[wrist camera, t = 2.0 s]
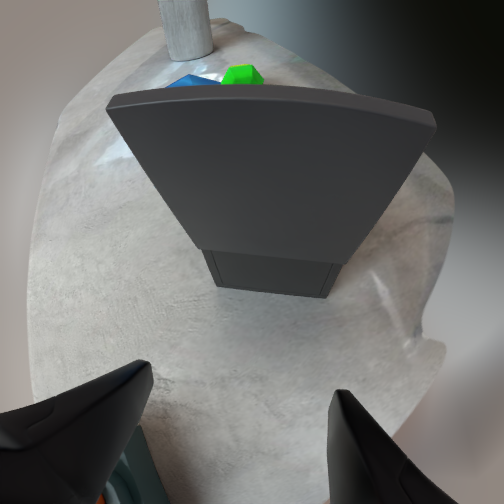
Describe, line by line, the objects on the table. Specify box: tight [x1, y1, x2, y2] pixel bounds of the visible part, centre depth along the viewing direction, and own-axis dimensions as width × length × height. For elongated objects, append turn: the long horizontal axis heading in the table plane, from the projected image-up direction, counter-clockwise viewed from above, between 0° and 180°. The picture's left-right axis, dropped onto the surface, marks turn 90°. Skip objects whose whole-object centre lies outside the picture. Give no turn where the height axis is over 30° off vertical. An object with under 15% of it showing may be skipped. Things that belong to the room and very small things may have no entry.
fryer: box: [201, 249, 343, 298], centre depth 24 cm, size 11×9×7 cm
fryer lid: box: [106, 84, 437, 264], centre depth 12 cm, size 12×9×1 cm
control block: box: [102, 425, 170, 504], centre depth 13 cm, size 10×8×6 cm
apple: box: [221, 64, 264, 85], centre depth 38 cm, size 7×6×9 cm
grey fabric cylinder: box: [158, 0, 213, 61], centre depth 40 cm, size 10×10×27 cm
